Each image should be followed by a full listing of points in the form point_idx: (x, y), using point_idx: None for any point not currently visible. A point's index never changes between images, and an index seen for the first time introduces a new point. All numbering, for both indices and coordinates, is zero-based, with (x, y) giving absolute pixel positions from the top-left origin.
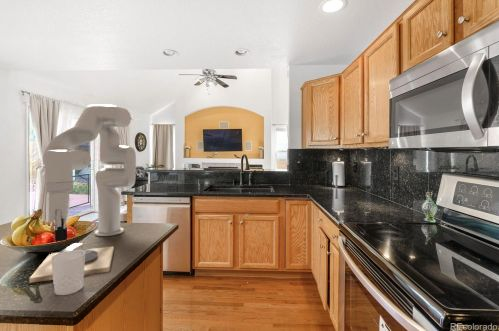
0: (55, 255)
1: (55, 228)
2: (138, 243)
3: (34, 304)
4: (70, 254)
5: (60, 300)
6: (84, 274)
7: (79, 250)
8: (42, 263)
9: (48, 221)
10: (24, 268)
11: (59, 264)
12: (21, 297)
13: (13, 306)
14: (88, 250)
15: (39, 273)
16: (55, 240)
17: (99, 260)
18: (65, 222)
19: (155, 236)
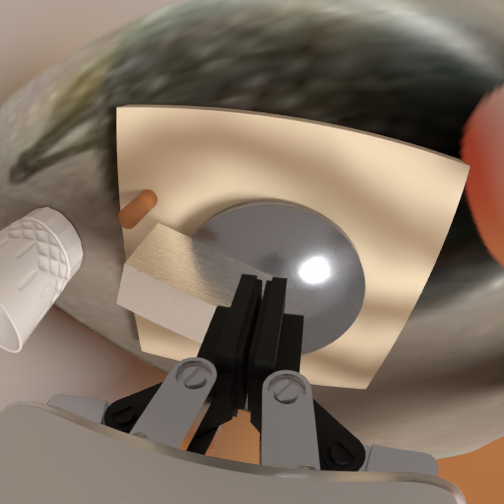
0: None
1: (169, 376)
2: (373, 422)
3: (4, 170)
4: (20, 313)
5: None
6: None
7: (19, 345)
8: (311, 128)
9: (4, 410)
10: (354, 42)
11: None
12: (36, 120)
13: (4, 121)
14: (333, 334)
15: (154, 136)
16: (241, 277)
17: None
18: (260, 464)
19: (398, 445)
